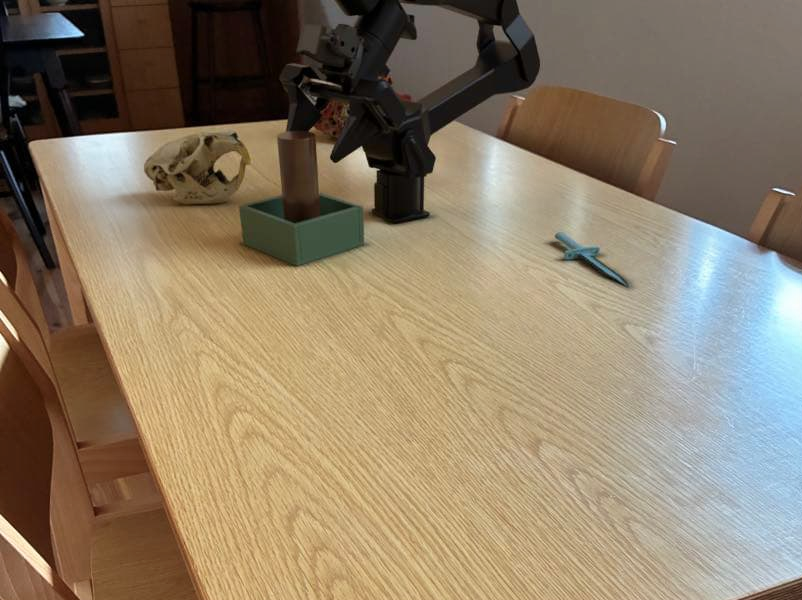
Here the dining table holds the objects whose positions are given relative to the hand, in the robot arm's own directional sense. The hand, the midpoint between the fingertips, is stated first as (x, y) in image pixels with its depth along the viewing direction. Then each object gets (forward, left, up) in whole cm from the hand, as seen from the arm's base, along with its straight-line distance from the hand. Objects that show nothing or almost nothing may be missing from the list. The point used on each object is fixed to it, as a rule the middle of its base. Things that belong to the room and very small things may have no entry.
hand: (308, 154), depth 103 cm
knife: (-26, +26, -11) cm, 39 cm away
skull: (+6, -26, -11) cm, 29 cm away
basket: (+2, 0, -11) cm, 11 cm away
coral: (-36, -50, -11) cm, 62 cm away
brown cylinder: (+2, 0, -10) cm, 11 cm away
